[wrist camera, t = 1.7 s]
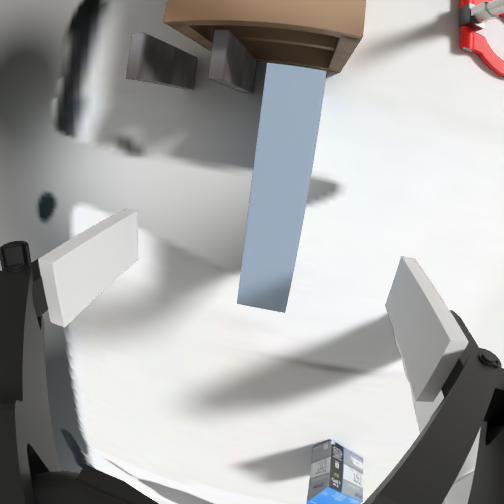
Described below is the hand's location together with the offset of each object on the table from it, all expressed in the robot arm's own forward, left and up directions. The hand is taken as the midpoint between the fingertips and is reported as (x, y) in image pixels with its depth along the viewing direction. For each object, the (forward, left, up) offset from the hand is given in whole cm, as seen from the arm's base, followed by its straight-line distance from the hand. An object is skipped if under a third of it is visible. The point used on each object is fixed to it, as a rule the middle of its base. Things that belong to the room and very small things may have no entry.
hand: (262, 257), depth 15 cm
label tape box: (+37, +15, -14) cm, 42 cm away
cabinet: (-17, -3, -14) cm, 22 cm away
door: (-2, 0, -14) cm, 14 cm away
